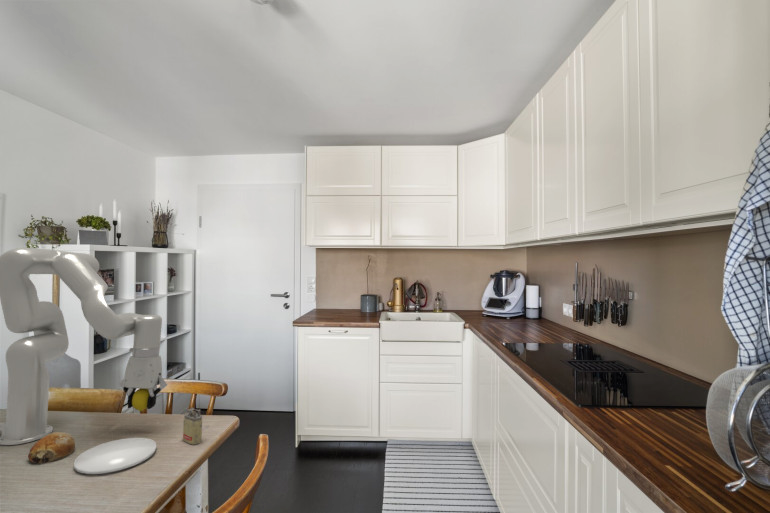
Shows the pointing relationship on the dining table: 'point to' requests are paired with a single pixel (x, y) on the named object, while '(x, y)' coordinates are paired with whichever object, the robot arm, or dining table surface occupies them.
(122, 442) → the plate
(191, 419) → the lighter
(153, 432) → the dining table surface
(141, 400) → the lemon
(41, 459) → the bread roll
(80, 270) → the robot arm
